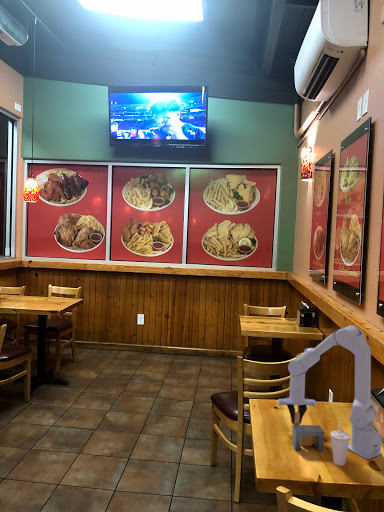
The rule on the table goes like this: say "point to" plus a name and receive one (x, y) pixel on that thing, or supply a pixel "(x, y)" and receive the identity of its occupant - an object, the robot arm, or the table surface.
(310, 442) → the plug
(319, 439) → the housing
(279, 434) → the table surface
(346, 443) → the smoothie
